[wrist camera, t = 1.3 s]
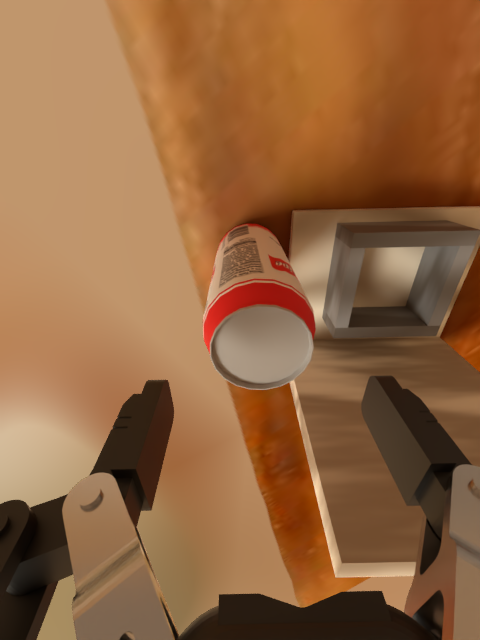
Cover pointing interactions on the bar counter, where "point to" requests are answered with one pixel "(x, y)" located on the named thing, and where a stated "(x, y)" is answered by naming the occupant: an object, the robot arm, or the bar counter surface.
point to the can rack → (379, 363)
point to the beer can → (257, 312)
